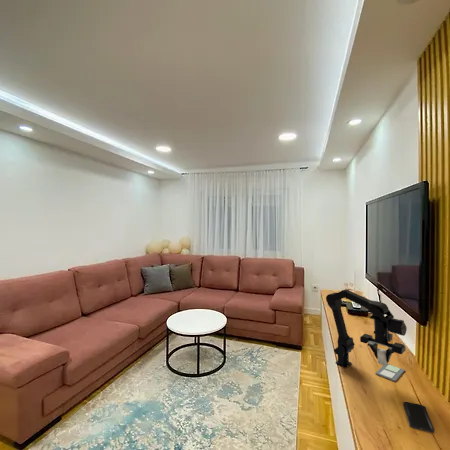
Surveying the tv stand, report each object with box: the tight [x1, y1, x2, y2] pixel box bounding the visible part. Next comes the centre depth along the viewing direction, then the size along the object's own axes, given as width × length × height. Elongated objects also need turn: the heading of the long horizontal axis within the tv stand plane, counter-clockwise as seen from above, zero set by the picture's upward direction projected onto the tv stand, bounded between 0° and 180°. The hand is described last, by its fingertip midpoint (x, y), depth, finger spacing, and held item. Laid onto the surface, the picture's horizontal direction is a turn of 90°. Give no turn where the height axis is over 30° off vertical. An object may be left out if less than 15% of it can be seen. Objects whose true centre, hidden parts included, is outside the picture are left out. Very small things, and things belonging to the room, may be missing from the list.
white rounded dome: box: [376, 348, 389, 366], centre depth 128 cm, size 4×4×6 cm
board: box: [375, 363, 406, 383], centre depth 135 cm, size 14×9×1 cm, turn 129°
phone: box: [402, 400, 435, 434], centre depth 104 cm, size 8×1×15 cm
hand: (382, 360), depth 128 cm, fingers closed on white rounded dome, 4 cm apart
